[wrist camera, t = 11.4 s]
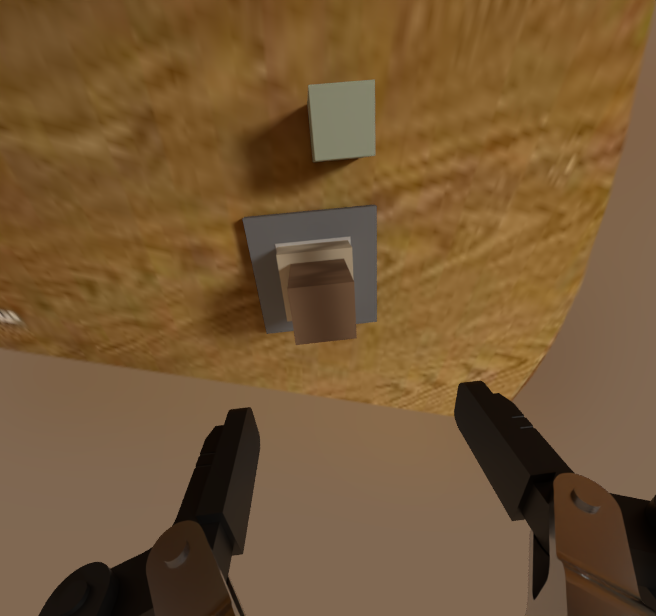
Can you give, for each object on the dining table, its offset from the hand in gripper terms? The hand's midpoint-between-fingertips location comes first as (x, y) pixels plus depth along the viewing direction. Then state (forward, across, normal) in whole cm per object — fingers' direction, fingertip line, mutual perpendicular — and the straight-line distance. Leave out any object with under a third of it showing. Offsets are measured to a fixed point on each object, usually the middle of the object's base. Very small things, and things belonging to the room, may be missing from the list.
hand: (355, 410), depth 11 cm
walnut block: (+17, +1, +2) cm, 18 cm away
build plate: (+22, +1, +2) cm, 22 cm away
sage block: (+22, -2, -11) cm, 24 cm away
